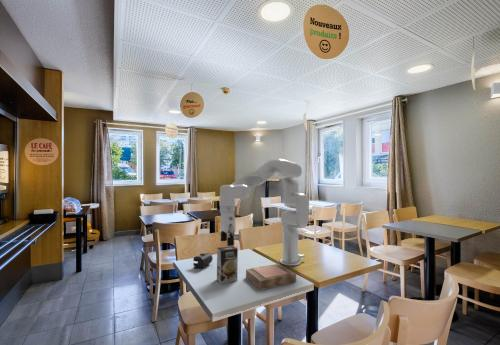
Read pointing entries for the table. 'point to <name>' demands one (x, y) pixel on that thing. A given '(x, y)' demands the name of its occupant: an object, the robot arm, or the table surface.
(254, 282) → the stand
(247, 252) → the table surface
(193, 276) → the table surface
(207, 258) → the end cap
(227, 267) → the coffee box
